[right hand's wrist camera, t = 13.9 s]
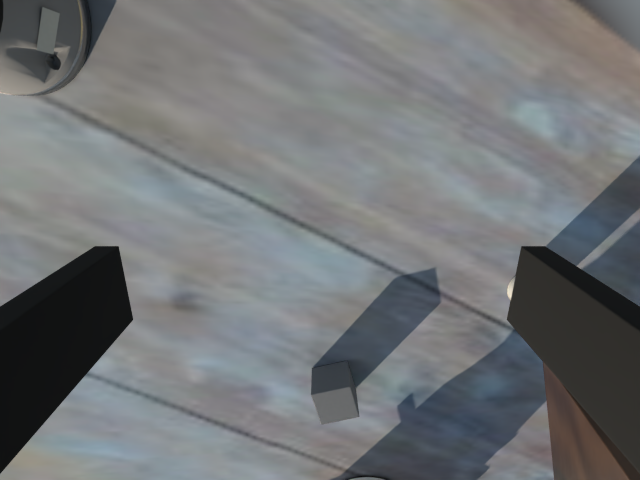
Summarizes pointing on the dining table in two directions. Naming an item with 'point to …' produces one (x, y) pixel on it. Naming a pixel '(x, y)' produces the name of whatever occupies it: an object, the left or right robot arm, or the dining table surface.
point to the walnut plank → (580, 440)
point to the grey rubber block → (334, 392)
